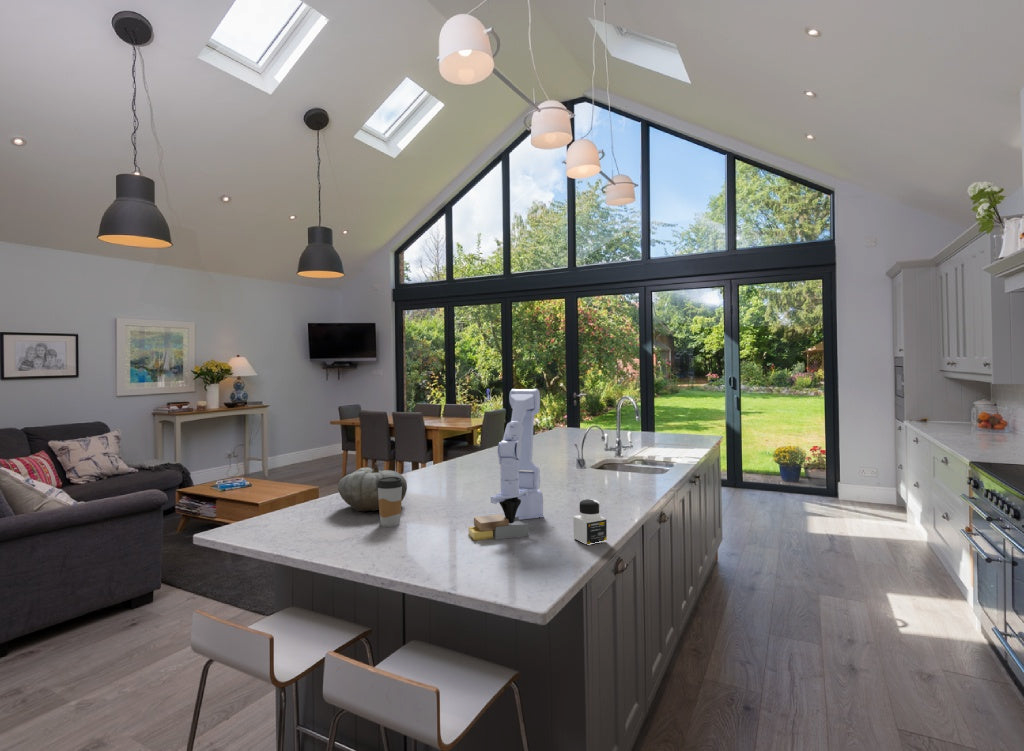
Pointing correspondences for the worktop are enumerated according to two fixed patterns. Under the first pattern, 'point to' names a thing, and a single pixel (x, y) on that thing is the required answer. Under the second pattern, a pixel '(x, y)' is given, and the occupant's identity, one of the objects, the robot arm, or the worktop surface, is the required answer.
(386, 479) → the coffee cup
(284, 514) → the worktop surface
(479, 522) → the cover
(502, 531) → the grey piece
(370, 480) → the gourd
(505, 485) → the robot arm
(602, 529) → the medicine bottle
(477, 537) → the yellow square tray
